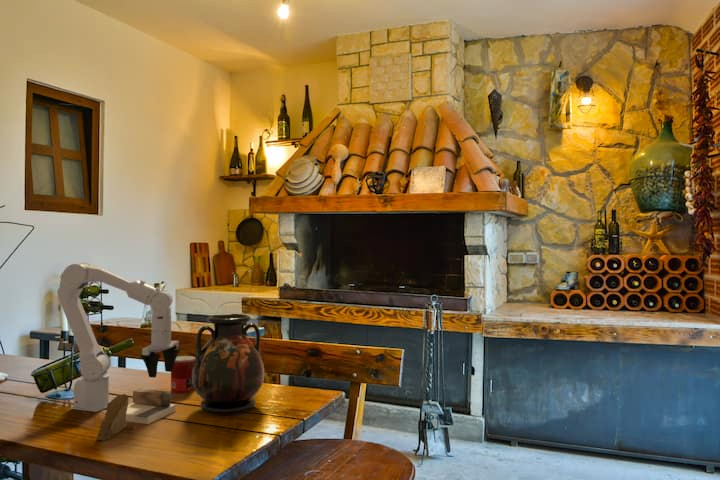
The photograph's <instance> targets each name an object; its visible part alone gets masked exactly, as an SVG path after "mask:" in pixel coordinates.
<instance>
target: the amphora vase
mask: <svg viewBox="0 0 720 480" xmlns="http://www.w3.org/2000/svg"><path fill="white" fill-rule="evenodd" d="M206 320H207V322H208V323H210V324H212V325H213V328H212V327H211V326H210V325H209V326H208V325H203V326H202V327H200V328H199V330H198V331H197V335H196V341H195V343H196V345H195V350H196V351H195V363H194V365H193V370H192V385H193V388H194V391H195V393H196V394H197V396H199V398H201V399H202V401H201V402H200V404H199V407H200V409H201V410H202V411H203V412H204V413H207V414H209V415H213V416H233V415H240V414H243V413H247V412H249V411H251V410H252V409H254V407H255V405H256V404H257V402H256V399H255V396H256V395H257V394H258V392H259V391H260V389H261V387H262V386H263V385H264V384H263V383H264V380H265V366H264V361H263V360H262V356H261V334H260V332H261V331H260V328H259V327H258V325H257V324H256V323H248V322H250V321H251V320H252V319H251V317H250V315H247V314H243V313H242V314H241V313H224V314H223V313H221V314H214V315H210V316H208V317H207V319H206ZM246 323H248V324H247V325H245V324H246ZM251 328H252V329H254V333H255V341H254V342H255V344H254V343H253V342H252V341H251V340H250V339H249V338H248V336H247V335H248V334H247V333H248V330H249V329H251ZM204 331H209V332H210V339H209V340H208V341H207V342H206V343H205V344H204V346H203V347H202V346H201V345H202V343H201V342H202V341H201V340H202V335H203V332H204Z"/></svg>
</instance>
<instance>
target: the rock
mask: <svg viewBox="0 0 720 480" xmlns="http://www.w3.org/2000/svg"><path fill="white" fill-rule="evenodd" d="M129 398H130V397H128V395H127V394H125V393H123V394H118V395H117V396H115V397H114V398H113V399H111V401H110V402H109V403H108V404H107V408H106V412H105V414H104V419H103V420H102V421H101V423H100V427H99V431H98V433H97V436H96V438H95V440H97V441H99V440H100V441H106V440H107V439H109V438H111V437H113V436H114V435H117V434H118V433H120V432H121V431H123V430H124V429H125V428H126V423H127V421H126V412H127V408H128V405H129Z"/></svg>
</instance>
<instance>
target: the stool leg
mask: <svg viewBox="0 0 720 480" xmlns="http://www.w3.org/2000/svg"><path fill="white" fill-rule="evenodd" d="M171 392H172V391H171ZM171 392H170V391H165V390H159V389H158V390H157V389H149V388H138V389H135V390H132V403H139V404H148V405H156V406H169V405H171V404H172V403H171V402H172V401H171V397H172V395H171V394H172V393H171Z"/></svg>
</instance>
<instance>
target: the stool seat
mask: <svg viewBox="0 0 720 480" xmlns="http://www.w3.org/2000/svg"><path fill="white" fill-rule="evenodd" d="M173 413H176V404H173V403H171V405H169V406H156V405H148V404H139V403H133V402H132V403H128V408H127V412H126V422H130V423H138V424H146V425H149V424H151V423H153V422H155V421H158V420H160V419H162V418H164V417H166V416H168V415H171V414H173Z"/></svg>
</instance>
